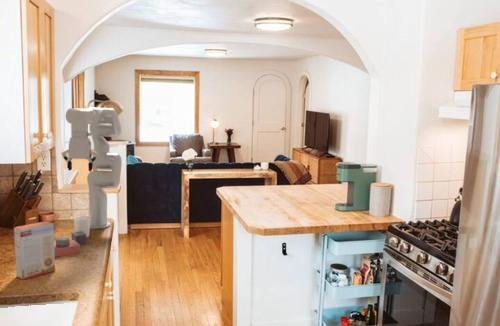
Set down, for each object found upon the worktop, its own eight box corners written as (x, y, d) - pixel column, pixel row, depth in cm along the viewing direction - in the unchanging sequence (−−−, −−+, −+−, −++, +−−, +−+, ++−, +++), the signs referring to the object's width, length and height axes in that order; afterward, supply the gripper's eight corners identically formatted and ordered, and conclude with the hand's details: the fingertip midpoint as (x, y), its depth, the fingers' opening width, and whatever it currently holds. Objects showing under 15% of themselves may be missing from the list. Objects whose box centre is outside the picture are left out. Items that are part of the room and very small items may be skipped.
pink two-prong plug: (39, 247, 230) (39, 234, 229) (69, 243, 239) (69, 230, 238) (49, 257, 217) (49, 243, 216) (80, 252, 226) (80, 239, 225)
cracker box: (48, 267, 205) (47, 220, 202) (55, 271, 201) (54, 222, 198) (15, 276, 194) (13, 226, 191) (22, 280, 190) (20, 229, 188)
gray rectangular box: (71, 242, 241) (71, 232, 240) (81, 240, 244) (81, 231, 243) (76, 245, 235) (76, 236, 235) (86, 244, 238) (86, 234, 238)
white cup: (80, 239, 245) (79, 220, 244) (71, 236, 250) (70, 218, 248) (93, 236, 251) (93, 217, 250) (84, 233, 256) (84, 215, 255)
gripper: (99, 135, 235) (100, 169, 237) (64, 134, 234) (64, 168, 237) (95, 136, 228) (96, 171, 230) (58, 135, 227) (59, 170, 229)
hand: (80, 170), depth 233 cm, fingers open, 9 cm apart
